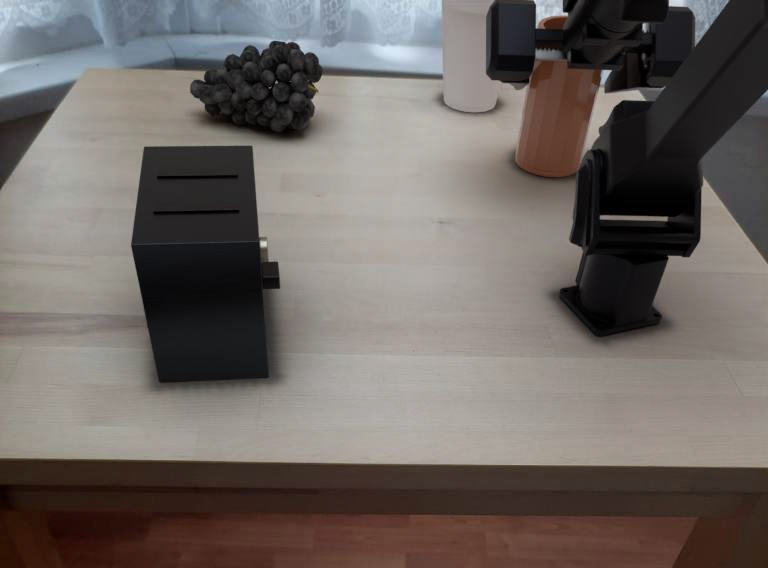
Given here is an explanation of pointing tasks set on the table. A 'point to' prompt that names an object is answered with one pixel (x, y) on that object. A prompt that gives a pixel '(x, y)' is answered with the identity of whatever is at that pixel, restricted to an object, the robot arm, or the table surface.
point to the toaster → (202, 262)
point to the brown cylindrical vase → (556, 114)
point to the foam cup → (466, 56)
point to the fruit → (263, 87)
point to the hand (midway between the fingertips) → (561, 86)
